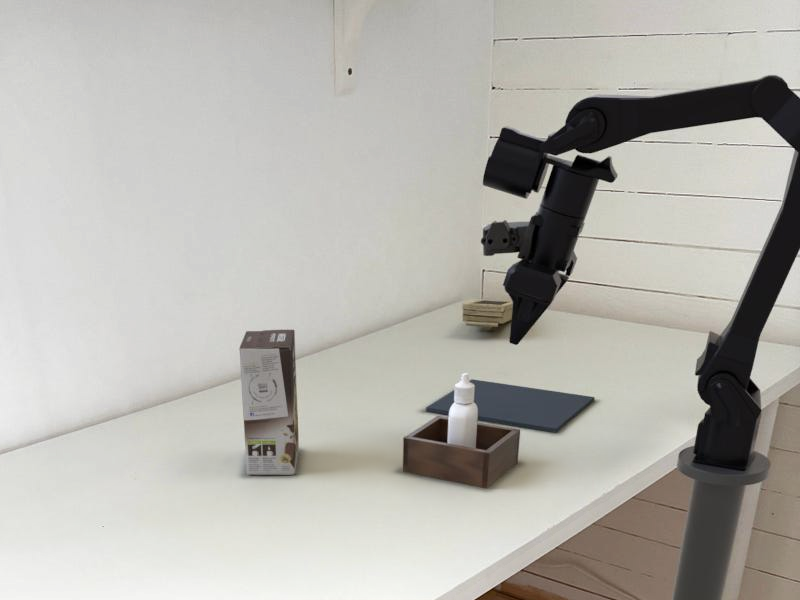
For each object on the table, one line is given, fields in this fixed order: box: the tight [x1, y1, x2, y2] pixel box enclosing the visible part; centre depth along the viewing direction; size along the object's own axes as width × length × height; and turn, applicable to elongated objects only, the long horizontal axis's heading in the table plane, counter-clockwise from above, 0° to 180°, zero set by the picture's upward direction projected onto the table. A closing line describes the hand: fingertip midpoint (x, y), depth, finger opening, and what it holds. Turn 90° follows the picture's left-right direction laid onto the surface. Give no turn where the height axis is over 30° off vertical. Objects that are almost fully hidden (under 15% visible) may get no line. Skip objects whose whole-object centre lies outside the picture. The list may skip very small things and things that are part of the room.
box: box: [461, 299, 513, 331], centre depth 187 cm, size 8×22×5 cm, turn 164°
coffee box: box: [238, 329, 300, 476], centre depth 125 cm, size 9×6×16 cm
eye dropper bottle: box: [447, 372, 478, 448], centre depth 123 cm, size 4×6×12 cm
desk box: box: [402, 415, 521, 489], centre depth 125 cm, size 12×10×4 cm
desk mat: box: [425, 378, 595, 433], centre depth 146 cm, size 20×16×1 cm
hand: (519, 334), depth 129 cm, fingers open, 9 cm apart
